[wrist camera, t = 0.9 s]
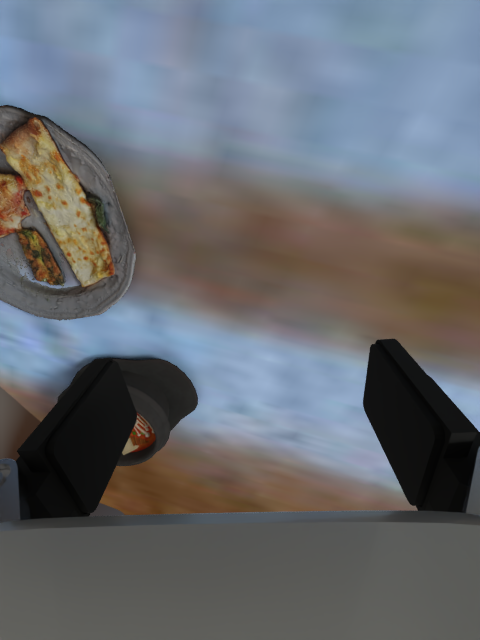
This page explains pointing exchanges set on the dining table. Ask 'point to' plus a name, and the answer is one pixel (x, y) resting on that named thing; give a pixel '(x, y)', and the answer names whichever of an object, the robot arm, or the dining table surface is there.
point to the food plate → (58, 221)
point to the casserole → (152, 404)
